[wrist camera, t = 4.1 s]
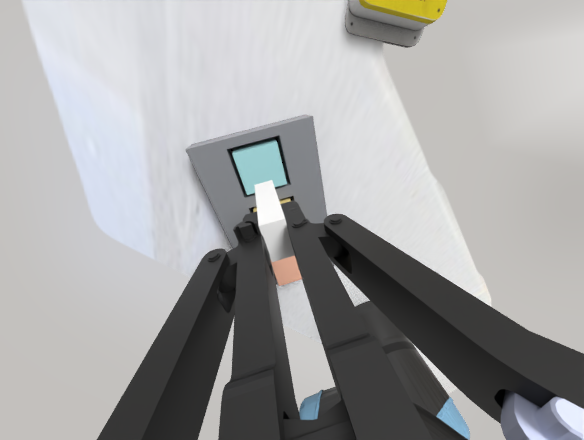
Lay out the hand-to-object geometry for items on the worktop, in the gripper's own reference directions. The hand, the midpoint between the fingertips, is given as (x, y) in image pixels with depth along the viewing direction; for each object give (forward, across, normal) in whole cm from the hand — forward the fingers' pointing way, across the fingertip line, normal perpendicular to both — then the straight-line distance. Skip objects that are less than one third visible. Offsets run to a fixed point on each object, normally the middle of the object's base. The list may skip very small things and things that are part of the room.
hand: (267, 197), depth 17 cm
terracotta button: (+9, 0, +15) cm, 17 cm away
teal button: (+11, 0, 0) cm, 11 cm away
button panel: (+11, 0, +7) cm, 13 cm away
